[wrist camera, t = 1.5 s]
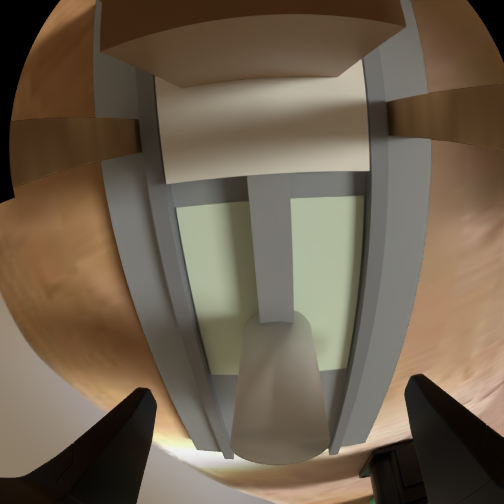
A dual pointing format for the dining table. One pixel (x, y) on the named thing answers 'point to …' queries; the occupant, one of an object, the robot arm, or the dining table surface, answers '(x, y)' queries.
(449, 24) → the dining table surface
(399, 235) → the track
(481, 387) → the dining table surface
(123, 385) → the dining table surface
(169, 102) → the sled
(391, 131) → the tunnel
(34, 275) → the dining table surface
